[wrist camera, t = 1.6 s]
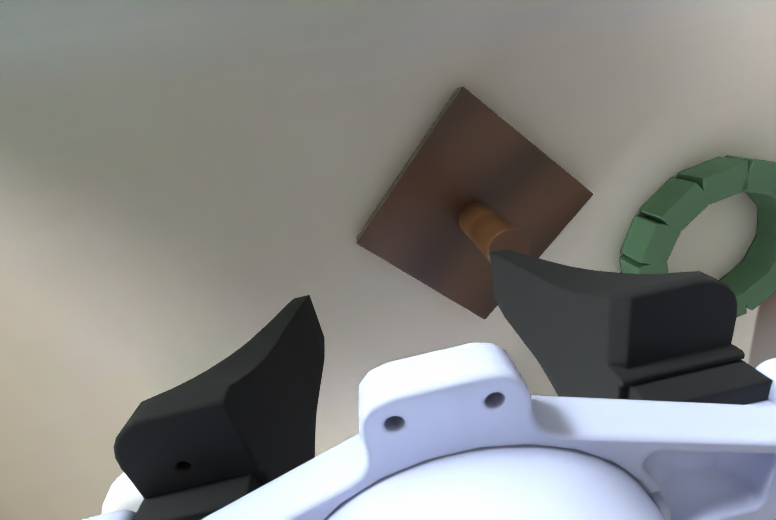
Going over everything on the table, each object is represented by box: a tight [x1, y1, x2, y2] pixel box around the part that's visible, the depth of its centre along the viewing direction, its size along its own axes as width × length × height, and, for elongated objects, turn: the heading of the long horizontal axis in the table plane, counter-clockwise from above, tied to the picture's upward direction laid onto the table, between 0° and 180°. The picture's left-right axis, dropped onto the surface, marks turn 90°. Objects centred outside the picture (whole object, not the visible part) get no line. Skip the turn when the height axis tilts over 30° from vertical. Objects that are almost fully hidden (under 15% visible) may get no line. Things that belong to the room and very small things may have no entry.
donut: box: [102, 473, 144, 514], centre depth 27 cm, size 10×4×10 cm
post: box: [357, 87, 593, 319], centre depth 19 cm, size 10×10×6 cm
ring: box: [620, 156, 776, 317], centre depth 23 cm, size 11×11×2 cm
